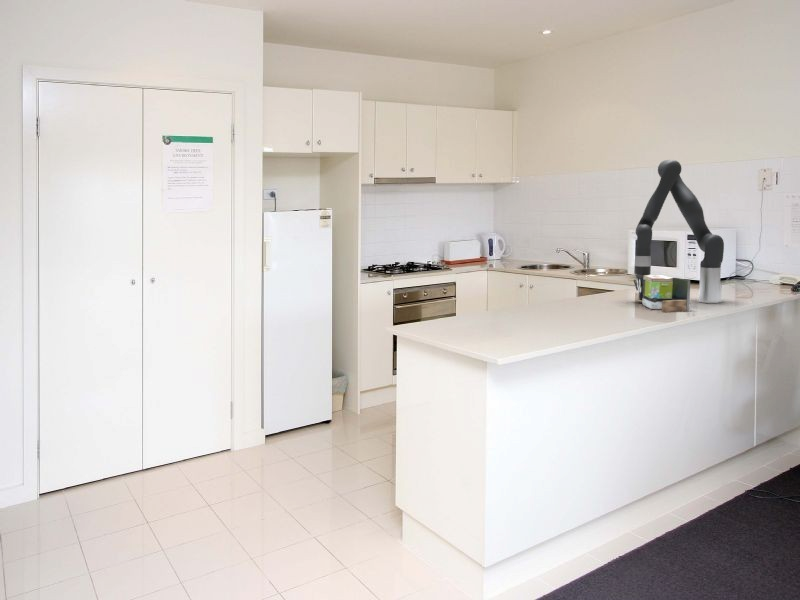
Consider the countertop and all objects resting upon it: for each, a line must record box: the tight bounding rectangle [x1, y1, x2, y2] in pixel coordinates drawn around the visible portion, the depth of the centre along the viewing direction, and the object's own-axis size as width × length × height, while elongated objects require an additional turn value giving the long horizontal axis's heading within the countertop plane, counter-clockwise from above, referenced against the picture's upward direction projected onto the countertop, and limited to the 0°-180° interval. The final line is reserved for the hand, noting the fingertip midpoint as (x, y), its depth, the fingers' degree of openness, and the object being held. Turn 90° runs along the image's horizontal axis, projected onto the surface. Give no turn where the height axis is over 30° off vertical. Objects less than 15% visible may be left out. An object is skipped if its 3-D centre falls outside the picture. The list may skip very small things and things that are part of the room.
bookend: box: [672, 277, 691, 312], centre depth 323 cm, size 1×13×14 cm, turn 9°
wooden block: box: [661, 300, 688, 313], centre depth 318 cm, size 12×1×5 cm, turn 99°
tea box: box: [641, 274, 674, 310], centre depth 330 cm, size 15×10×15 cm, turn 175°
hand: (641, 299), depth 345 cm, fingers closed
